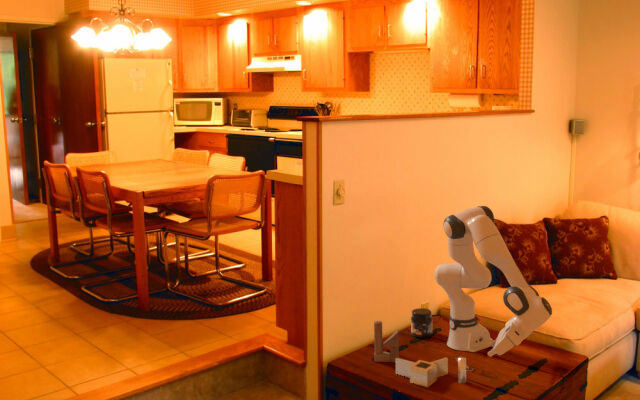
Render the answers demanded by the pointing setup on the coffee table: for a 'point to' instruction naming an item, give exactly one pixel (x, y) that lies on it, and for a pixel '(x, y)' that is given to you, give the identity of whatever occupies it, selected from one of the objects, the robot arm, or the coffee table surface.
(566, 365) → the coffee table surface
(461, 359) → the rounded cylinder
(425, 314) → the supplement container
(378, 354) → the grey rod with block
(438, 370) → the cream winged socket block
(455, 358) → the key
